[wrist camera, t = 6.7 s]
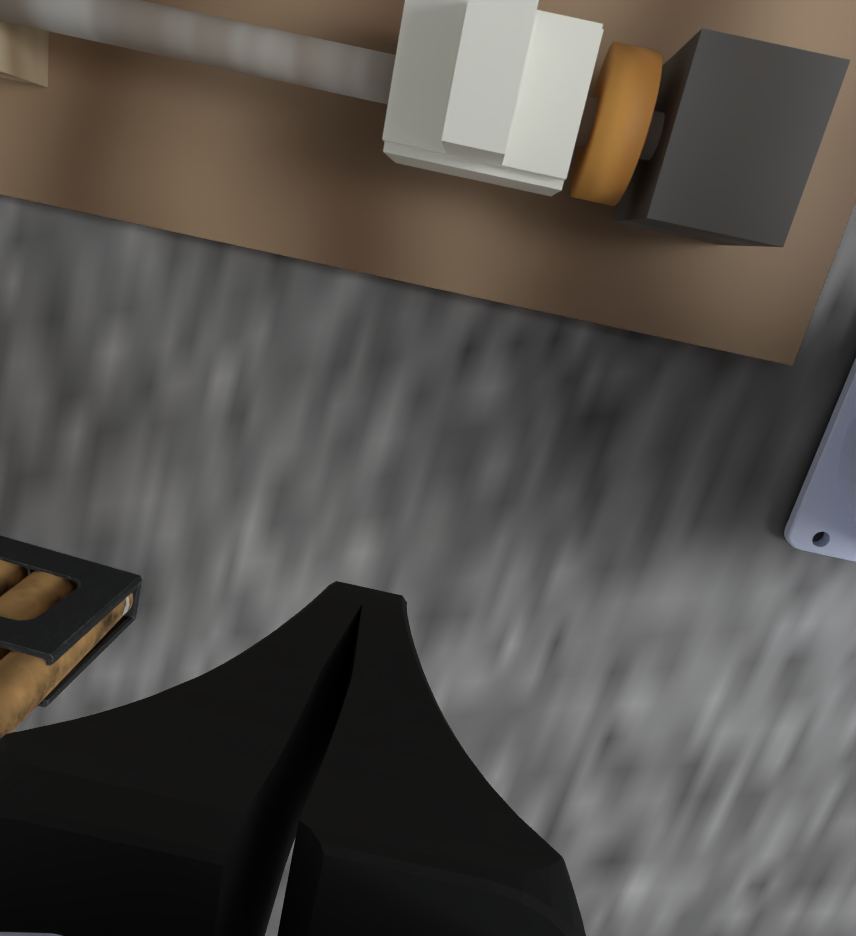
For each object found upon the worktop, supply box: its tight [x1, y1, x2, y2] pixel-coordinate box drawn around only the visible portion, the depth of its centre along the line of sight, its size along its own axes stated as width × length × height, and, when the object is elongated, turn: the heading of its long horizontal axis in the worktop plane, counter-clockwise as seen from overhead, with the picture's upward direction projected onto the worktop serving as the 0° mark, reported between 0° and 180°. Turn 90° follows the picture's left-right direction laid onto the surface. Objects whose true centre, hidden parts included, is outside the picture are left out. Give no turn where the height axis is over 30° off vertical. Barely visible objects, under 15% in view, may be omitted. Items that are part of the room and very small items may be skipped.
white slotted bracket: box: [382, 0, 604, 196], centre depth 14 cm, size 4×3×5 cm
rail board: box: [0, 0, 856, 366], centre depth 16 cm, size 24×9×5 cm, turn 79°
